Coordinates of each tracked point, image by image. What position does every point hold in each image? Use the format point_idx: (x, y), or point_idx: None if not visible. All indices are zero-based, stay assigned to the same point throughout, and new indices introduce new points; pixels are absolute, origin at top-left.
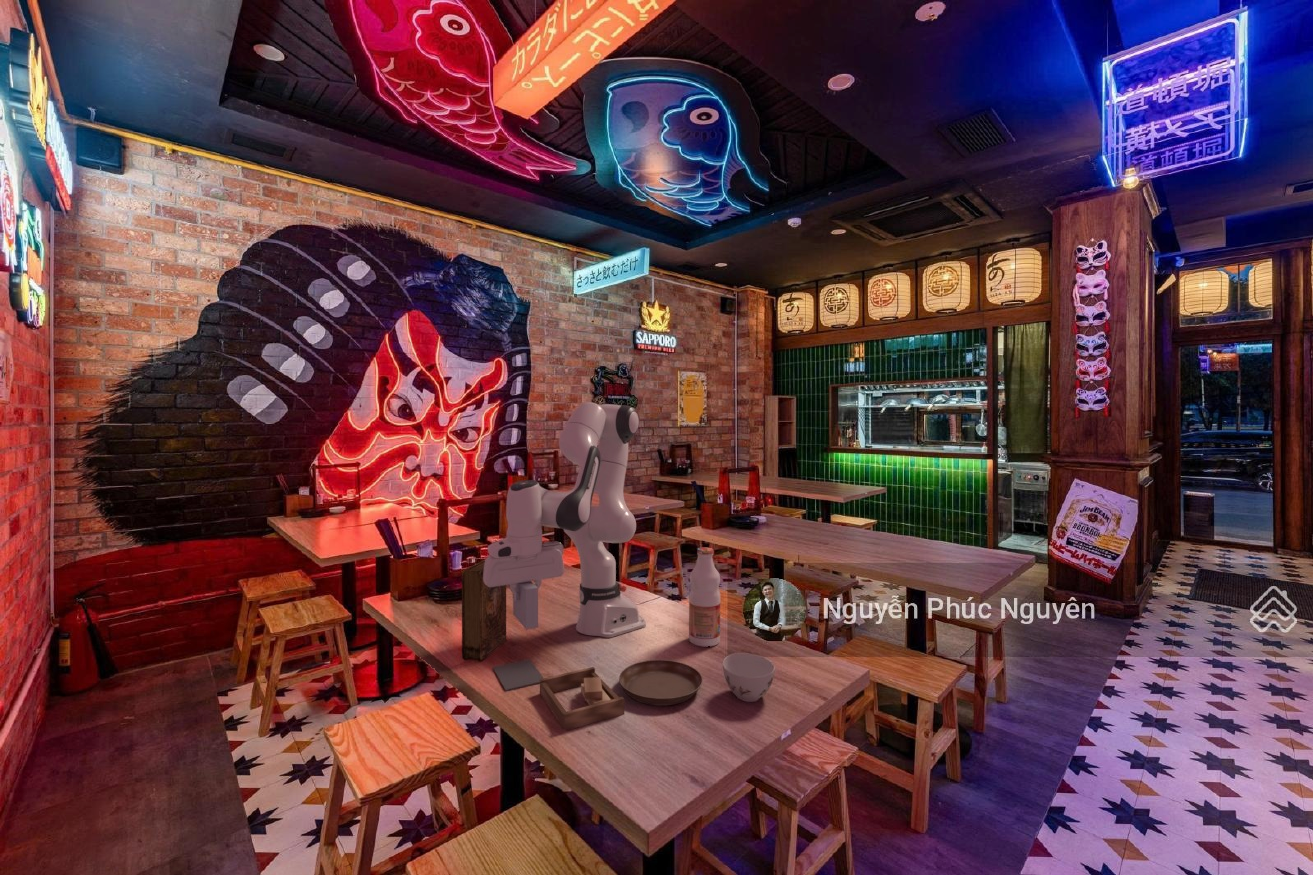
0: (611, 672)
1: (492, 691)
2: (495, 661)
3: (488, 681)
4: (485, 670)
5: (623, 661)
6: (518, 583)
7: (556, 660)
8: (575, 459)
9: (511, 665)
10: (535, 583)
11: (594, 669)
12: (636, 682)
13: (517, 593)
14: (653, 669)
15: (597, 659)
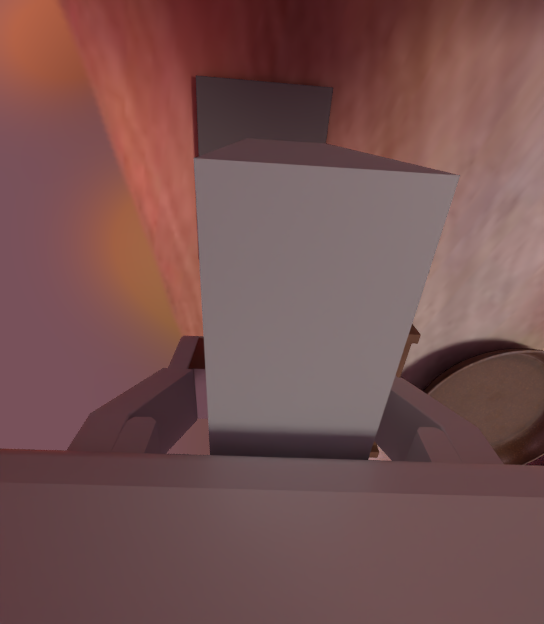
0: (467, 303)
1: (172, 239)
2: (218, 4)
3: (169, 173)
4: (170, 76)
5: (539, 267)
6: (212, 452)
7: (405, 145)
8: None
9: (258, 105)
10: (423, 417)
11: (415, 342)
12: (465, 374)
13: (204, 410)
14: (538, 355)
15: (502, 215)
